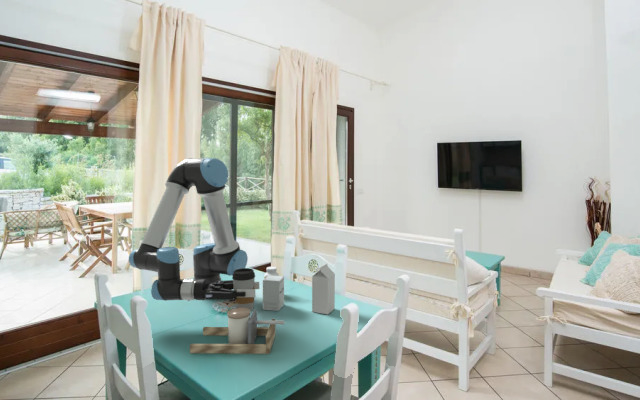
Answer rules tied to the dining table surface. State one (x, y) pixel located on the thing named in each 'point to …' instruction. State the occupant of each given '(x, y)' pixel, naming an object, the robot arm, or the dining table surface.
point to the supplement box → (273, 293)
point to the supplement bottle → (271, 272)
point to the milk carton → (323, 290)
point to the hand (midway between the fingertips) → (257, 289)
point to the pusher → (253, 326)
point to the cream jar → (238, 325)
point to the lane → (236, 348)
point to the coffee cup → (244, 286)
